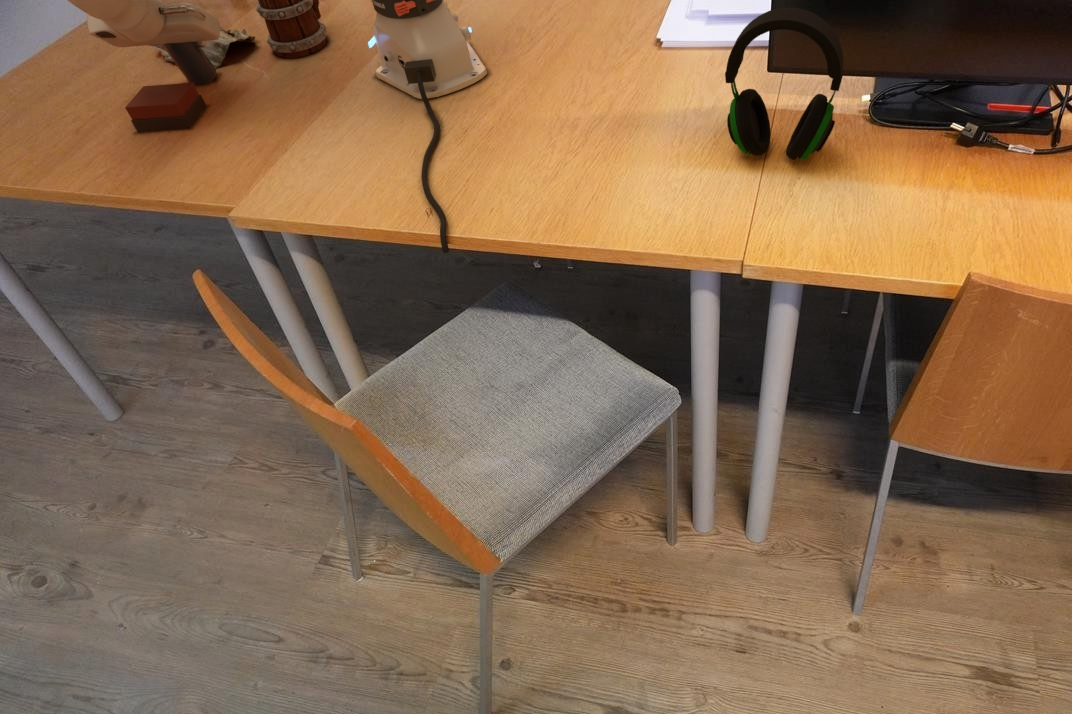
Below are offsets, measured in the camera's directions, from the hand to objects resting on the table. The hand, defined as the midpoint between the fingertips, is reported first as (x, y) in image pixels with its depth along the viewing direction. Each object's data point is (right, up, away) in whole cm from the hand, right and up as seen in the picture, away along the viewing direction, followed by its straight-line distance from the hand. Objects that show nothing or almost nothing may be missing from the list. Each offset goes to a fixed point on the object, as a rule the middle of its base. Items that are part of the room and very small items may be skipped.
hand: (185, 44), depth 144 cm
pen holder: (+1, -4, +5) cm, 6 cm away
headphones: (+104, -30, -30) cm, 112 cm away
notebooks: (0, -16, -4) cm, 16 cm away
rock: (-3, +5, +14) cm, 16 cm away
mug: (+18, +6, +12) cm, 22 cm away
